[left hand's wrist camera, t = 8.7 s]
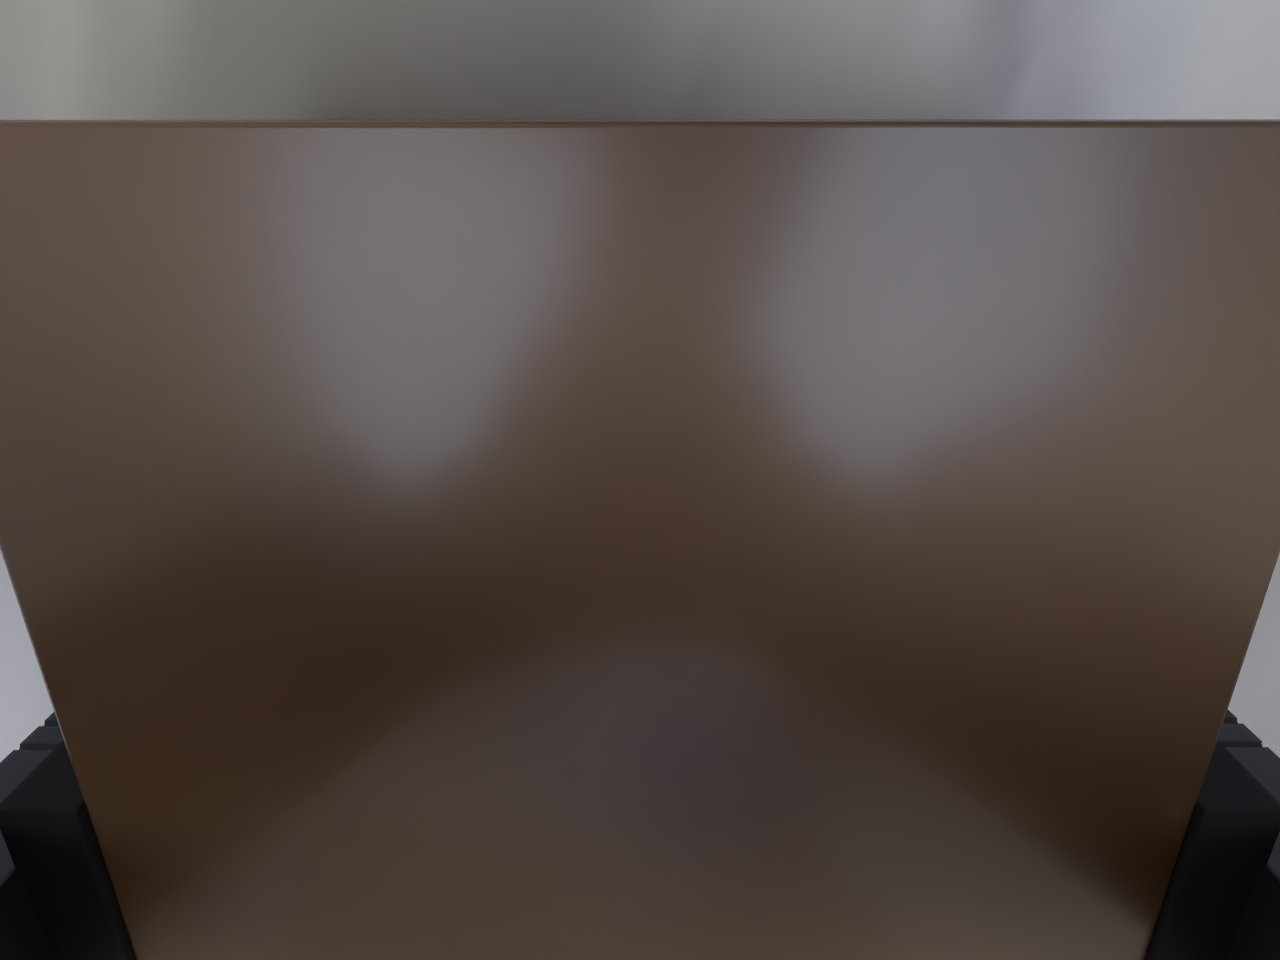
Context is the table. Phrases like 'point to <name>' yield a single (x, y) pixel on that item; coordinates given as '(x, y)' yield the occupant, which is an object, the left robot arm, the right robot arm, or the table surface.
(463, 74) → the table surface
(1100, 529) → the thick board
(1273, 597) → the table surface
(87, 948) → the left robot arm
